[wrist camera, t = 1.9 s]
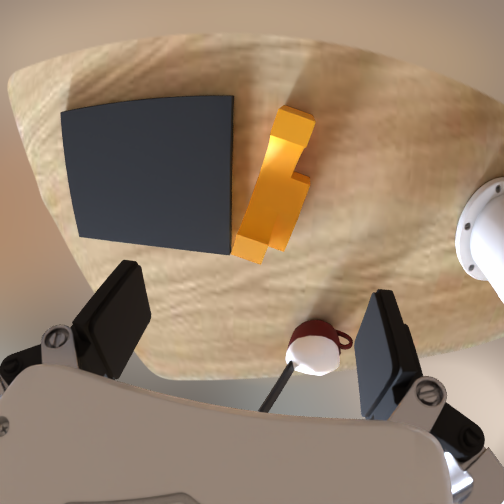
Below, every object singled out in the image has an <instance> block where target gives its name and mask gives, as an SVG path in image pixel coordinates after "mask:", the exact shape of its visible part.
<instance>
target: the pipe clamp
mask: <svg viewBox="0 0 504 504" xmlns="http://www.w3.org/2000/svg"><path fill="white" fill-rule="evenodd" d="M315 123H316V121H315V119H314V117H313V115H311V114H308V113H305V112H303V111H300V110H297V109H294V108H291V107H288V106H286V105H284V106H282V107H281V108H279V109H278V112H277V115H276V118H275V121H274V124H273V127H272V130H271V133H270V135H271V137H270V141H269V145H268V149H267V152H266V155H265V158H264V162H263V165H262V168H261V171H260V174H259V177H258V180H257V183H256V185H255V188H254V191H253V194H252V197H251V199H250V202H249V205H248V208H247V210H246V213H245V216H244V218H243V221H242V223H241V226H240V228H239V231H238V233H237V236H236V239H235V242H234V245H233V248H232V251H231V254H232V255H234V256H237V257H240V258H243V259H246V260H249V261H252V262H254V263H257V264H260V265H261V263H262V260H263V258H264V255H265V253H266V250H267V248H268V246H269V247H272V248H275V249H277V250H280V251H283V252H284V250H285V248H286V246H287V243H288V241H289V239H290V236H291V234H292V231H293V229H294V227H295V224H296V222H297V220H298V217H299V214H300V211H301V208H302V205H303V203H304V200H305V197H306V195H307V192H308V190H309V187H310V177H307V176H305V175H302V174H299V173H297V172H294V169H295V166H296V164H297V162H298V159H299V157H300V155H301V153H302V151H303V149H304V148H306V147H307V144H308V141H309V139H310V136H311V133H312V131H313V128H314V125H315Z"/></svg>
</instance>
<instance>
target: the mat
mask: <svg viewBox="0 0 504 504" xmlns="http://www.w3.org/2000/svg"><path fill="white" fill-rule="evenodd" d="M233 111H234V96H182V97H165V98H152V99H141V100H132V101H124V102H116V103H109V104H102V105H96V106H90V107H84V108H79V109H74V110H69V111H64V112H61V126H62V137H63V147H64V155H65V163H66V170H67V176H68V182H69V188H70V194H71V199H72V205H73V210H74V214H75V219H76V224H77V228H78V232H79V237H84V238H92V239H100V240H108V241H116V242H124V243H132V244H140V245H148V246H156V247H165V248H173V249H181V250H189V251H197V252H206V253H214V254H222V255H230V253H231V218H232V152H233Z"/></svg>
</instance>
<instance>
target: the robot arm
mask: <svg viewBox="0 0 504 504" xmlns="http://www.w3.org/2000/svg"><path fill="white" fill-rule="evenodd" d="M455 245H456V253H457V256H458V259H459V261H460V263H461V265H462V266H463V268H464V269H465V271H466V272H467V273H468V274H469V275H471V276H472V277H473V278H476V279H478V280H485V281H487V280H488V281H489V282H490V283H491V285H492V286H493V288H494V289H495V291H496V292H497V294H498V295H499V297H500V299H501V300H502V302H503V303H504V177H500V178H495V179H493V180H491V181H489V182H487V183H486V184H484V185H483V186H481V187H480V188H479V189H478V190H477V191H476V192H475V193H474V194H473V195H472V197H471V198H470V200H469V201H468V203H467V204H466V206H465V208H464V210H463V212H462V214H461V217H460V220H459V222H458V226H457V231H456V242H455ZM150 319H151V311H150V307H149V302H148V298H147V293H146V288H145V284H144V279H143V274H142V269H141V266H140V265H138V263H137V262H136V261H130V260H123V261H122V262H121V263H120V264H119V265H118V266H117V267H116V269H115V270H114V271H113V272H112V273H111V274H110V276H109V277H108V278H107V279H106V280H105V282H104V283H103V284H102V285H101V286H100V288H99V289H98V290H97V291H96V293H95V294H94V295H93V296H92V298H91V299H90V300H89V301H88V303H87V304H86V305H85V306H84V308H83V309H82V310H81V312H80V313H79V314H78V315H77V317H76V318H75V319H74V321H73V322H72V323H73V325H72V326H71V328H70V327H68V326H66V325H56V326H53V327H51V328H49V329H48V330H47V331H46V332H45V333H44V334H43V336H42V339H41V344H40V345H37V346H34V347H31V348H28V349H25V350H23V351H20V352H17V353H14V354H11V355H9V356H7V357H6V358H5V359H4V360H3V362H2V363H1V366H0V504H504V467H503V466H502V465H501V463H500V462H499V461H498V459H497V458H496V456H495V455H494V454H493V452H492V451H491V450H490V448H489V447H488V448H487V449H486V448H485V447H484V441H485V438H484V434H483V431H482V430H481V428H480V427H479V426H478V425H477V424H475V423H474V422H472V421H471V420H470V419H468V418H467V417H466V416H464V415H463V414H461V413H460V412H459V411H457V410H456V409H454V408H453V407H451V406H450V405H449V404H448V403H446V399H447V392H446V389H445V387H444V386H443V384H442V383H441V382H440V381H439V380H437V379H435V378H433V377H429V376H423V374H422V370H421V367H420V363H419V359H418V356H417V353H416V349H415V346H414V343H413V340H412V336H411V333H410V330H409V327H408V325H406V324H404V323H403V320H402V317H401V314H400V311H399V308H398V305H397V302H396V299H395V296H394V294H393V291H392V290H382V289H378V290H377V292H376V293H372V295H371V298H370V301H369V304H368V307H367V310H366V312H365V315H364V318H363V321H362V323H361V326H360V329H359V331H358V334H357V337H356V339H355V344H354V349H355V356H356V365H357V373H358V383H359V393H360V404H361V414H362V416H363V417H365V418H366V419H338V418H320V417H305V416H292V415H281V414H272V413H264V412H256V411H249V410H242V409H236V408H229V407H223V406H217V405H212V404H207V403H202V402H197V401H192V400H187V399H183V398H179V397H174V396H170V395H166V394H162V393H158V392H154V391H150V390H147V389H143V388H139V387H136V386H132V385H129V384H126V383H122V382H119V381H115V379H118V378H119V377H120V375H121V373H122V372H123V369H124V368H125V366H126V364H127V362H128V360H129V358H130V357H131V355H132V353H133V351H134V349H135V347H136V345H137V344H138V342H139V340H140V338H141V336H142V334H143V333H144V331H145V329H146V327H147V325H148V324H149V322H150Z"/></svg>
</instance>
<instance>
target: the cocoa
mask: <svg viewBox="0 0 504 504" xmlns="http://www.w3.org/2000/svg"><path fill="white" fill-rule="evenodd" d="M338 336H341V337H344V338H346V339H347V340H348V341H349V342H350V343H349V344H347V345H343V344H341V343H340V342H339V337H338ZM352 344H353V340H352V338H351V337H350V336H349V335H347V334H345V333H343V332H341V331H338V330H335V329H334V328H333V327H332V326H331V325H330V324H329V323H327V322H324V321H322V320H310V321H306V322H304V323H302V324H301V325H299V326H298V327H297V328H296V329H295V330H294V332H293V334H292V337H291V339H290V342H289V345H288V349H287V353H286V361H287V366H286V368H285V369H284V371H283V373H282V374H281V376H280V378H279V379H278V381H277V382H276V384H275V385H274V387H273V389H272V390H271V392H270V393H269V395H268V396H267V398H266V399H265V401H264V402H263V404H262V405H261V407H260V409H259V410H258V412H264V413H268V412H269V410H270V409H271V407H272V406H273V404H274V402H275V401H276V399H277V398H278V396H279V394H280V393H281V391H282V389H283V388H284V386H285V385H286V383H287V381H288V379H289V378H290V376H291V375H292V373H293V371H294V370H296V371H300V372H303V373H306V374H313V375H319V376H322V375H324V374H326V373H329V372H331V371H333V370H335V369H336V368H337V367H339V363H340V358H339V356H340V354H341V351H340V348H341V349H349V348H351V347H352Z"/></svg>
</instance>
